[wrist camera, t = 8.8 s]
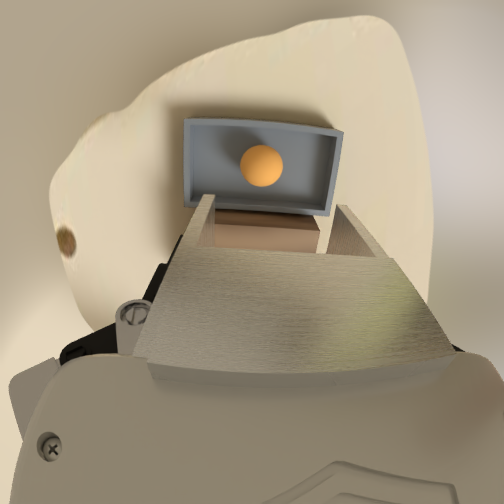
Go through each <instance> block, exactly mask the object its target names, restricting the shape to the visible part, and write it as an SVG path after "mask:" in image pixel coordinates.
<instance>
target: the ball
mask: <svg viewBox="0 0 504 504" xmlns="http://www.w3.org/2000/svg"><path fill="white" fill-rule="evenodd" d="M240 169H241V173H242V175H243V177H244V178H245V179H246V180H247V181H248V182H249V183H250V184H252V185H255V186H260V187H263V186H268V185H271V184H273V183H274V182H276V181H277V180H278V178H279V177H280V175H281V173H282V170H283V162H282V159H281V156H280V155H279V153H278V152H277V151H276V150H275V149H273V148H272V147H270V146H266V145H256V146H253V147H251V148H249V149H248V150H247V151H246V152H245V153H244V154H243V156H242V158H241V162H240Z"/></svg>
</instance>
